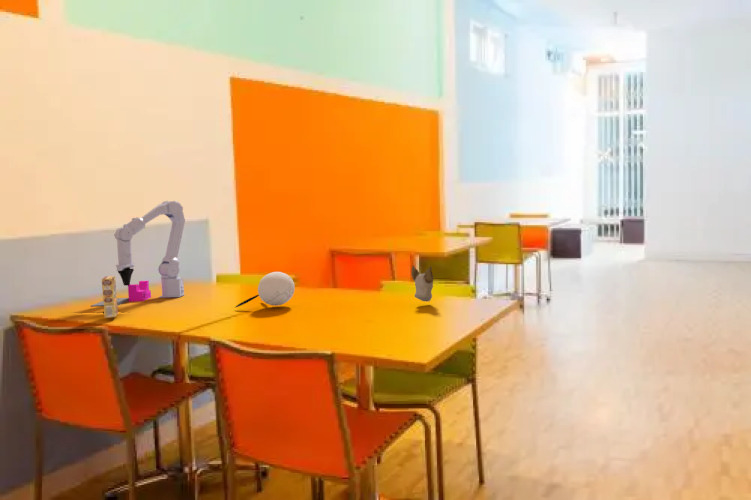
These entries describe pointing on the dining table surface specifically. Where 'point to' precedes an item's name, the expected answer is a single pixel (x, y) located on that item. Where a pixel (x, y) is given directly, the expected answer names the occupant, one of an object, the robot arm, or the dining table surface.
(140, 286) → the toy block
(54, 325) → the dining table surface
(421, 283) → the ceramic sculpture
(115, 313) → the candy box
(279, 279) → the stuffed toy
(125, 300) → the rubber mat
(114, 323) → the dining table surface
